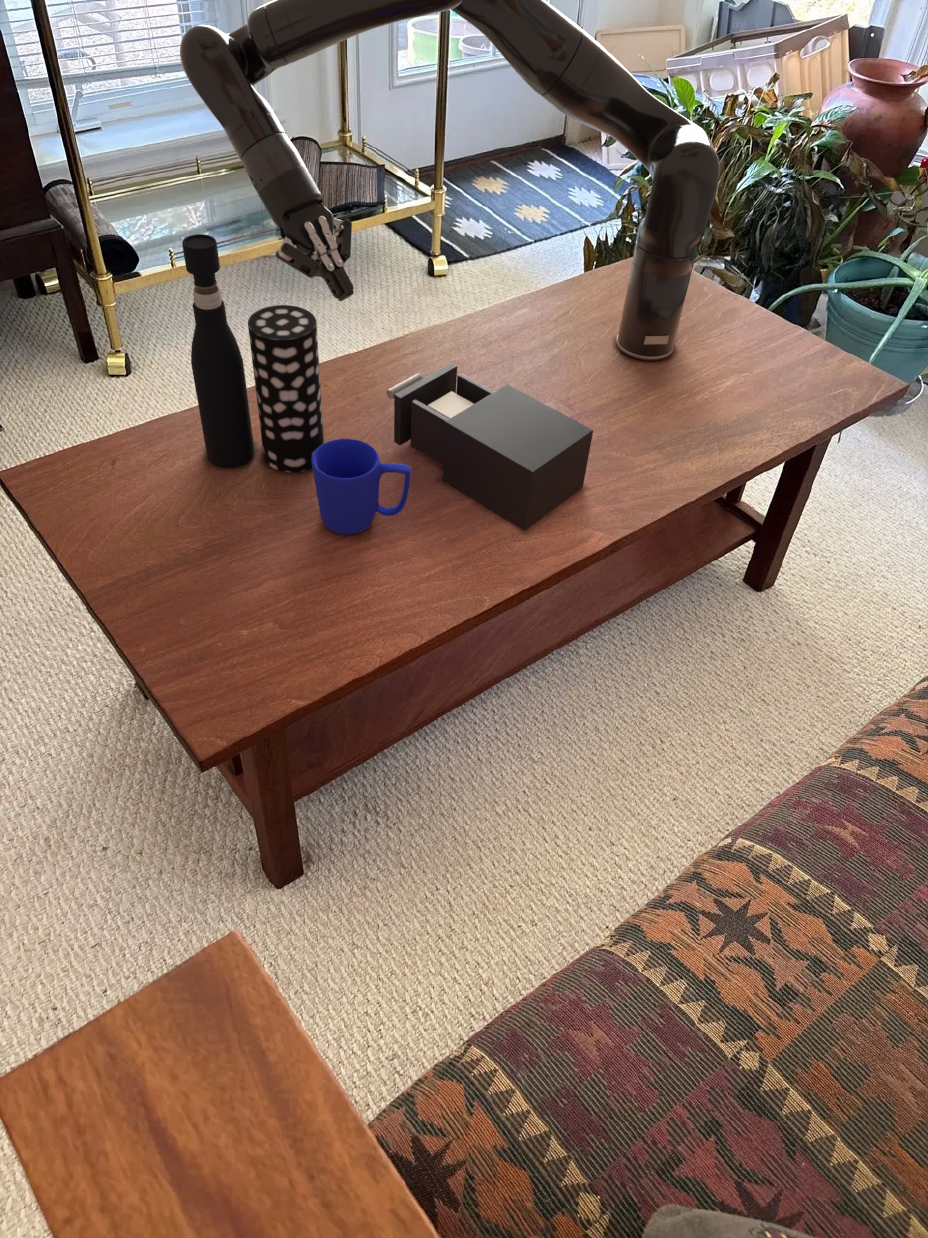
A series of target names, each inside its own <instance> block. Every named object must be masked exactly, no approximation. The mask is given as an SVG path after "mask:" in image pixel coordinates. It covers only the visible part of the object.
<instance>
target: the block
mask: <svg viewBox="0 0 928 1238" xmlns="http://www.w3.org/2000/svg"><path fill="white" fill-rule="evenodd" d="M472 405H474V403H472V402H470V401H468V400H467V399H465V398H463V397H461V396H459V395H458V394H456V393H454V392H452V391H451V392H449V393H448V394H446V395H444V396H443V397H441V398H439V399H437V400H436V401H434V402H432V403H431V404H429V405H427V406H428V407H429V408H431V409H433V410H435V411H436V412H438V413H440V414H442V415H443V416H445V417H447V418H449V419H450V418H452V417H454V416H455V415H457V414H459V413H460V412H462V411H464V410H465V409H467V408H469V407H470V406H472Z"/></svg>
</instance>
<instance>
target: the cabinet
mask: <svg viewBox="0 0 928 1238" xmlns="http://www.w3.org/2000/svg"><path fill="white" fill-rule="evenodd" d="M593 434H594V429H592V428H590V427H589V426H586V424H583V423H581V422H580V421H578V420H575V419H574V418H572V417H570V416H568V415H566V414H564V413H562V412H561V411H559V410H557V409H555V408H553V407H551V406H549V405H548V404H545V403H544V402H542V401H540V400H538V399H537V398H535V397H533V396H531V395H528V394H527V393H525V392H523V391H521V390H520V389H517V388H515V387H514V386H512V385H510V384H509V383H506V384H505V385H504V386H501V387H500V388H499V389H496V390H494V392H493V393H492V394H490V395H488V396H487V397H485V398H483V399H482V400H480V401H479V402H477V403H475V404H474V405H472V406H470V407H469V408H467V409H465V410H464V411H462V412H460V413H459V414H457V415H455V416H454V417H452V418H450V419H449V420H447V421H445V432H444V452H443V465H442V474H441V475H442V476H441V481H443V482H444V483H446V484H447V485H449V486H451V487H452V488H454V489H456V490H457V491H458V492H460V493H462V494H464V495H465V496H467V497H469V498H470V499H472V500H474V501H475V502H477V503H479V504H480V505H481V506H483V507H485V508H486V509H488V510H490V511H491V512H493V513H494V514H496V515H498V516H499V517H501V518H503V519H504V520H506V521H508V522H509V523H511V524H512V525H514V526H516V527H517V528H519V529H520V530H522V531H524V532H526V531H527V530H528V529H529V528H531V527H532V526H534V525H535V524H537V523H538V522H539V521H541V520H542V519H543V518H544V517H545V516H548V514H550V513H551V512H553V511H554V510H556V508H558V507H559V506H560V505H562V504H563V503H564V502H566V501H567V500H568V499H570V498H571V497H572V496H574V495H575V494H577V493H578V492H579V491H580V490H582V489H583V487H584V482H585V477H586V472H587V466H588V461H589V456H590V452H591V445H592V441H593Z"/></svg>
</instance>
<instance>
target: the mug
mask: <svg viewBox="0 0 928 1238" xmlns="http://www.w3.org/2000/svg"><path fill="white" fill-rule="evenodd" d="M311 462H312V475H313V479H314V487H315V492H316V497H317V503H318V504H317V505H318V509H319V514H320V518H321V521H322V523H323V524H324V526H325V527H326V528H327V529H329V530H330V531H331V532H333V533H336V534H340V535H346V536H347V535H348V536H349V535H357V534H359V533H362V532H364V531H365V530H367V529H368V528H369V527H370V526H371V525H372V522H373V521H374V518H375V516H376V512H377V513H378V514H380V515H382V516H385V517H392V516H397V515H398V514H399V513H400V512H402V510H403V509H404V508H405V505H406V503H407V500H408V496H409V491H410V490H409V489H410V484H411V475H412V468H411V466H410V465H408V464H404V463H395V462H393V463H392V462H381V461H380V456H379V453H378V451H377V450H376V449H375V448H374V446H372V445H371V444H369V443H367V442H365V441H363V440H359V439H354V438H337V439H332V440H329V441H327V442H324V444H322V445H321V446H319V447H318V448H317V449H316V450H315V451H314V453H313V455H312V459H311ZM387 473H396V474H403V475H404V484H403V490H402V494H401V498H400V500H399V501H398V504H396V505H395V506H393V507H385V506H382V505H381V504H380V502H379V500H380V499H379V498H380V497H379V495H380V482H381V478H382V476H383V475H384V474H387Z"/></svg>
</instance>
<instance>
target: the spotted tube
mask: <svg viewBox="0 0 928 1238" xmlns="http://www.w3.org/2000/svg"><path fill="white" fill-rule="evenodd" d="M317 324H318V323H317V319H316V316H315V315H314V314H313V313H312V312H311V311H309V310H308V309H306V308H303V307H300V306H295V305H290V304H277V305H269V306H266V307H262V308H260V309H258V310H256V311H255V312H253V313H252V314H251V315H250V316H249V318H248V319H247V329H248V336H249V337H248V338H249V345H250V354H251V361H252V370H253V371H252V372H253V380H254V386H255V395H256V403H257V412H258V419H259V420H258V421H259V429H260V436H261V444H262V452H263V454H262V455H263V459H264V461H265V463H266V464H267V465H268V466H269V467H271V468H272V469H275V470H277V471H280V472H284V473H301V472H306V471H309V470H313V468H312V462H311V459H312V455H313V453H314V451H315V450H316V449H317V448H318V447H319V446H321V445H322V444H324V443H325V437H324V422H323V407H322V406H323V405H322V389H321V373H320V359H319V358H320V357H319V342H318V341H319V339H318V325H317Z"/></svg>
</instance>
